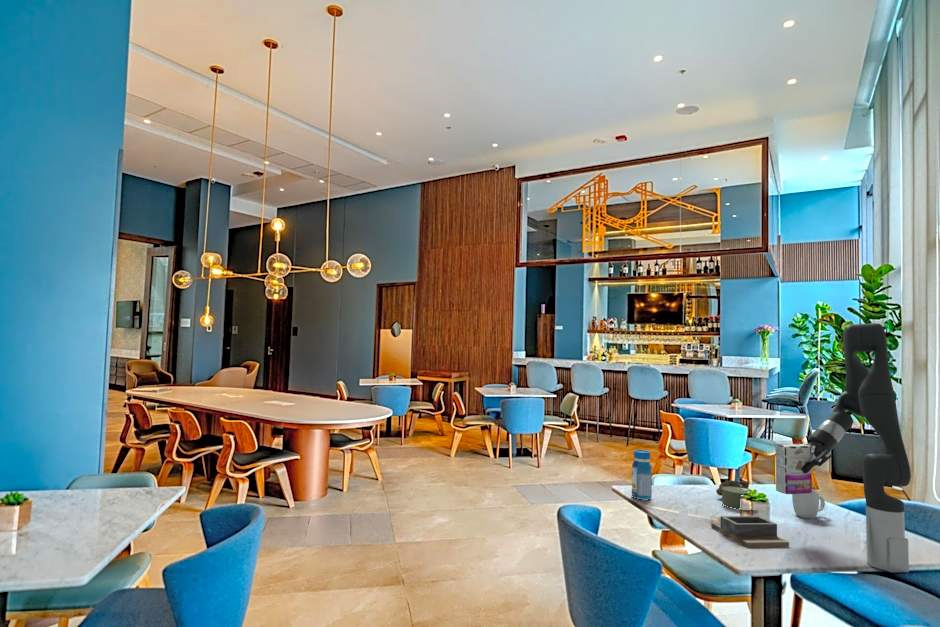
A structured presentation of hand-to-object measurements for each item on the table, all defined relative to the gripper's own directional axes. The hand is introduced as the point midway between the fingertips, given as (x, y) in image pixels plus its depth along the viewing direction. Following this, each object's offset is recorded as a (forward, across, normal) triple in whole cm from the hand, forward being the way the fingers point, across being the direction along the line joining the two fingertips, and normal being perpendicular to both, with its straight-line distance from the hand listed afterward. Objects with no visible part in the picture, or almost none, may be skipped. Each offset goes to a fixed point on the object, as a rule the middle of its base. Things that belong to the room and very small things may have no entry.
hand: (797, 469), depth 188 cm
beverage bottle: (+41, -48, -9) cm, 64 cm away
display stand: (+29, 0, +3) cm, 30 cm away
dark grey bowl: (+15, -36, +17) cm, 43 cm away
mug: (0, -22, +32) cm, 39 cm away
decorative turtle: (+11, -48, +21) cm, 53 cm away
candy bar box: (+7, 0, +4) cm, 8 cm away
